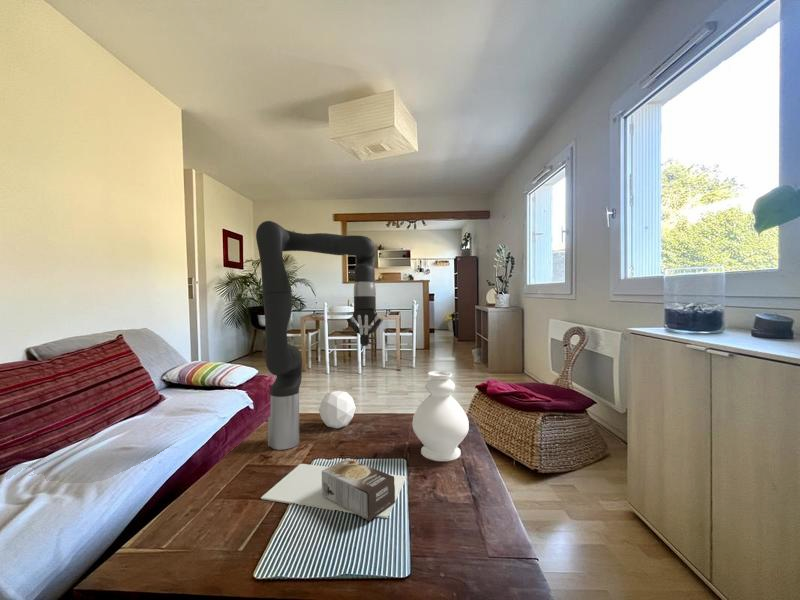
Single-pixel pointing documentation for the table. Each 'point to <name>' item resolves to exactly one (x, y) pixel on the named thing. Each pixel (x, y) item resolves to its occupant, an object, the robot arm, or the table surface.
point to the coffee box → (358, 488)
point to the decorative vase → (440, 419)
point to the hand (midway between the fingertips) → (365, 345)
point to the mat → (314, 489)
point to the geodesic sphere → (337, 409)
